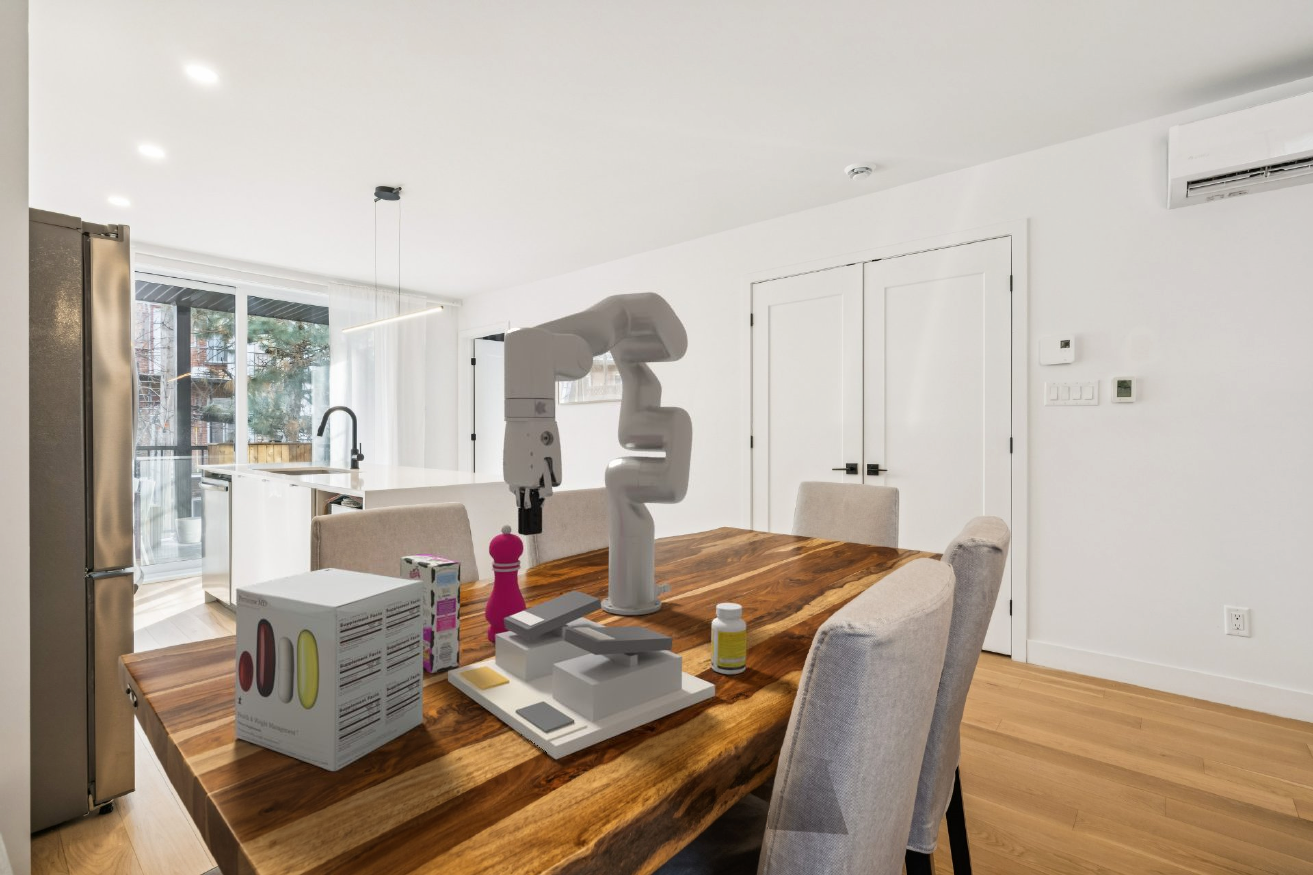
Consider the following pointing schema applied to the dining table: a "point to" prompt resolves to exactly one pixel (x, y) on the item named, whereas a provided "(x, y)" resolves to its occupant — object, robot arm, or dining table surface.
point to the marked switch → (552, 614)
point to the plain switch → (617, 639)
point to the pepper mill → (504, 581)
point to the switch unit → (576, 689)
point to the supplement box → (328, 664)
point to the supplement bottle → (728, 640)
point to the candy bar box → (437, 608)
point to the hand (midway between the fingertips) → (530, 533)
